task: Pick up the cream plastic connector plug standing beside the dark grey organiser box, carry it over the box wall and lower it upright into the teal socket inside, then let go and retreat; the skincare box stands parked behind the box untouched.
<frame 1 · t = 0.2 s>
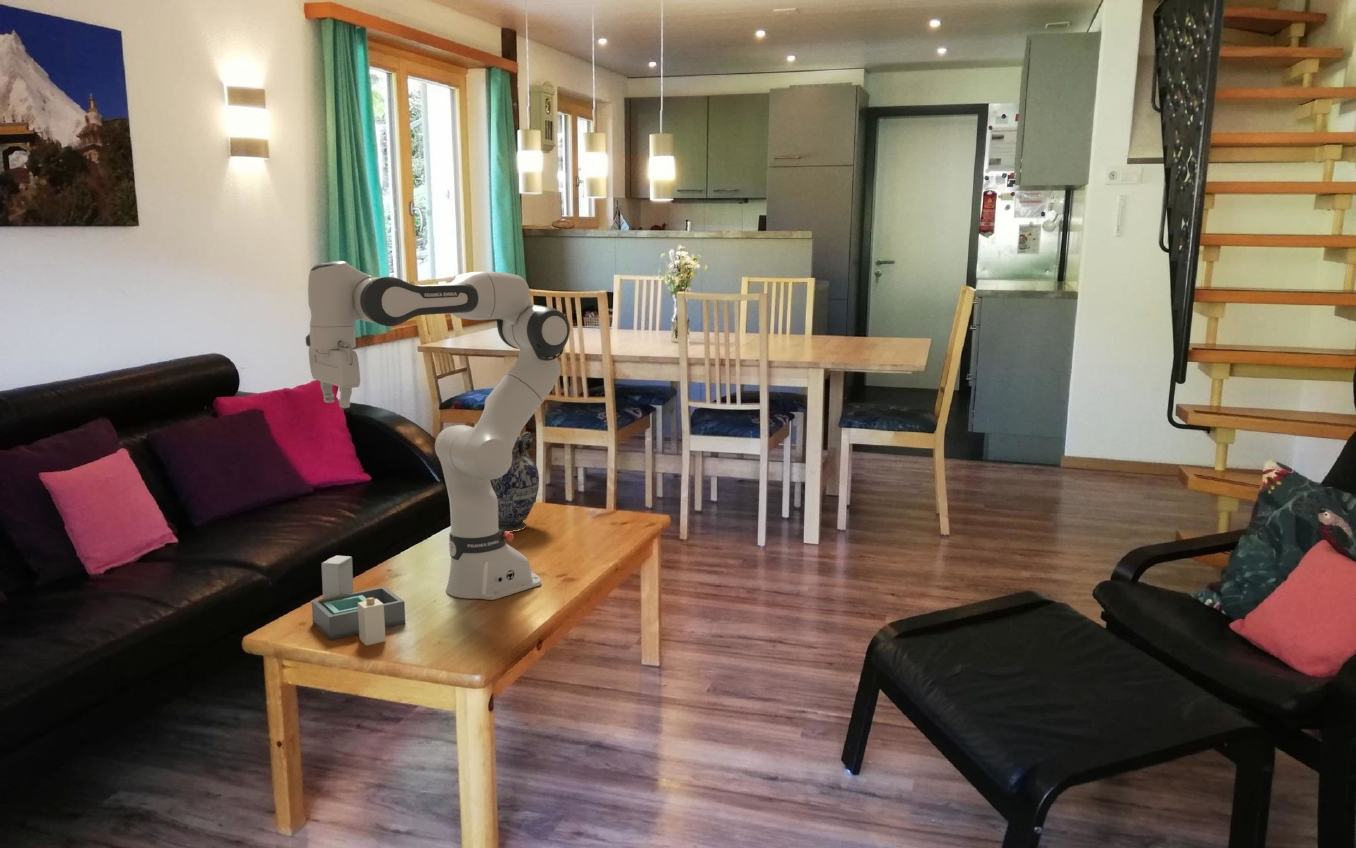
hand: (336, 405, 202), 47 cm above the table, fingers open, 8 cm apart
skincare box: (339, 611, 214), on the table
organiser box: (359, 623, 207), on the table
decorative vase: (508, 528, 282), on the table
inlet socket: (349, 625, 206), resting on organiser box
plug: (372, 640, 198), on the table
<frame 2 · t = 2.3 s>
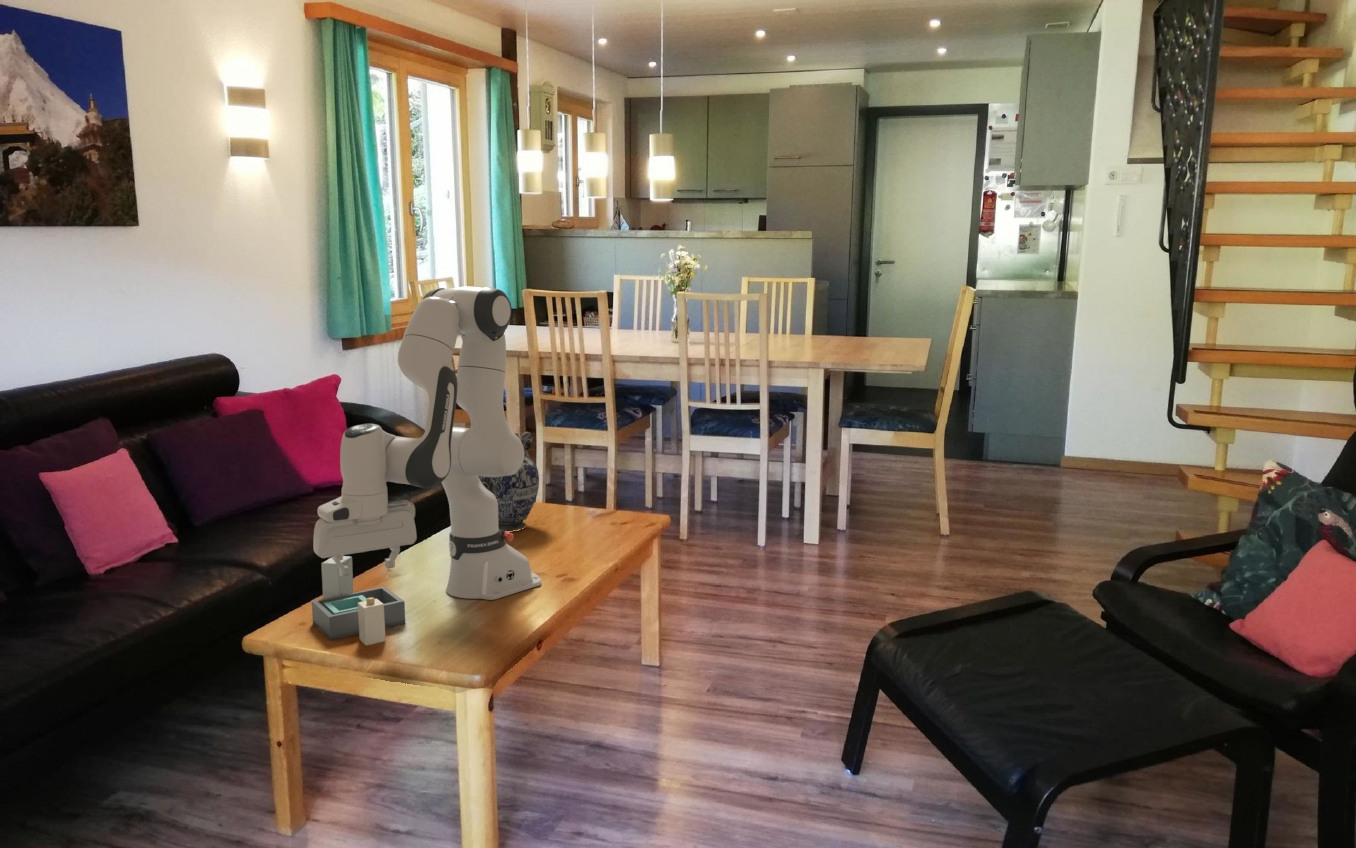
hand: (367, 571, 195), 15 cm above the table, fingers open, 8 cm apart
nothing on the table moved.
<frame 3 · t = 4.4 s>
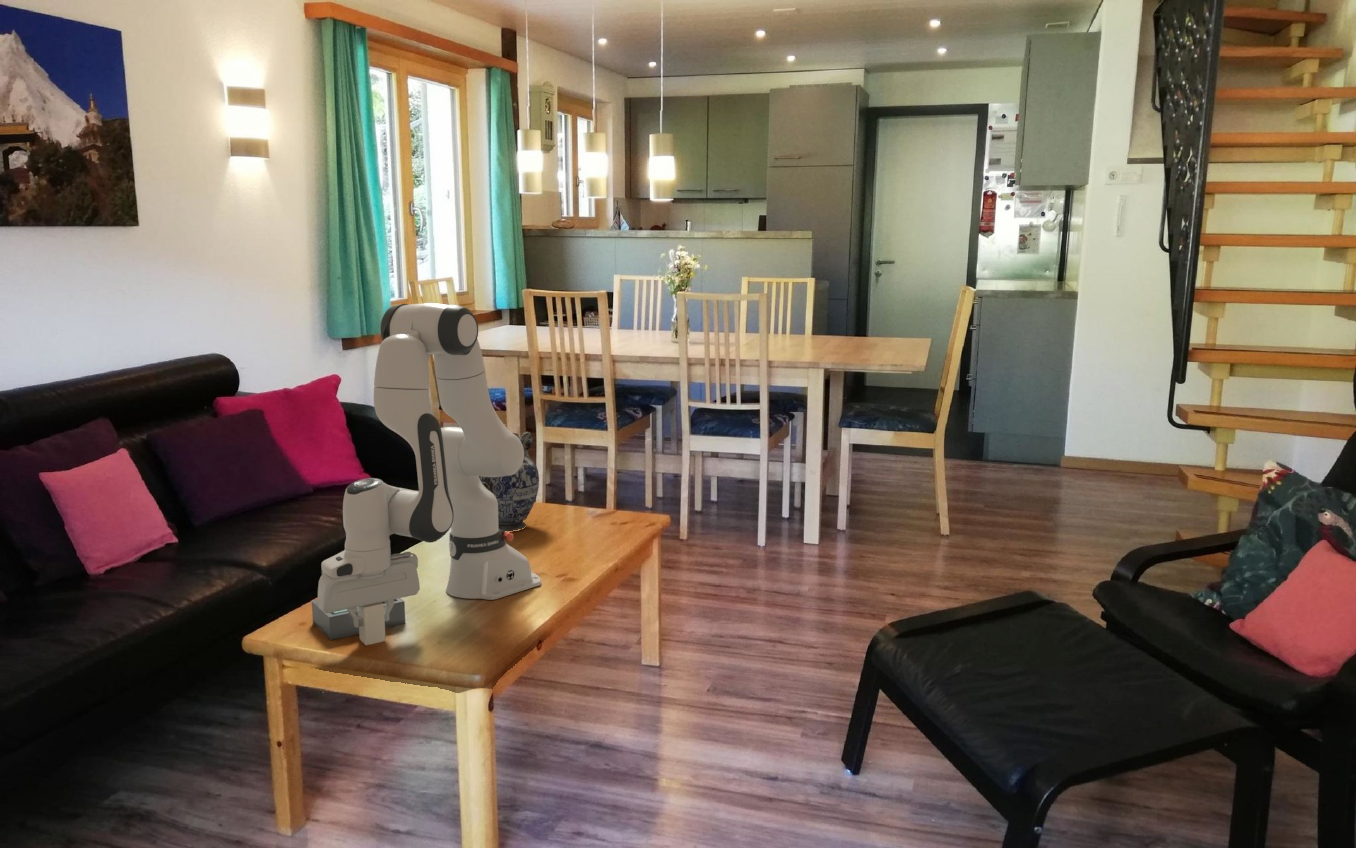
hand: (371, 623, 197), 4 cm above the table, fingers closed on plug, 4 cm apart
plug: (372, 640, 198), on the table, touching gripper
everything else where it was.
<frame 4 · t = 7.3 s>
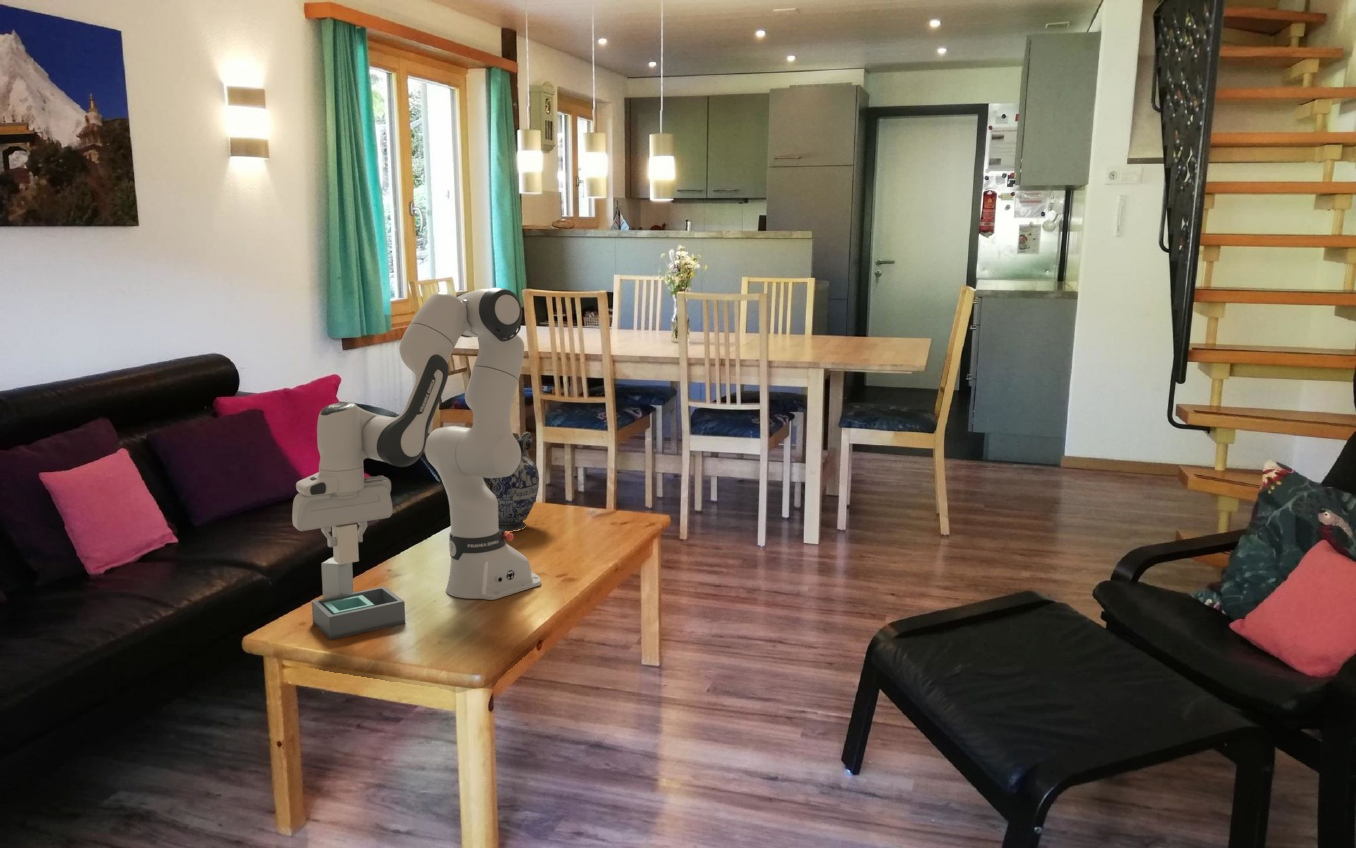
hand: (345, 544, 203), 18 cm above the table, fingers closed on plug, 4 cm apart
plug: (346, 560, 203), point 14 cm above the table, touching gripper
everything else where it was.
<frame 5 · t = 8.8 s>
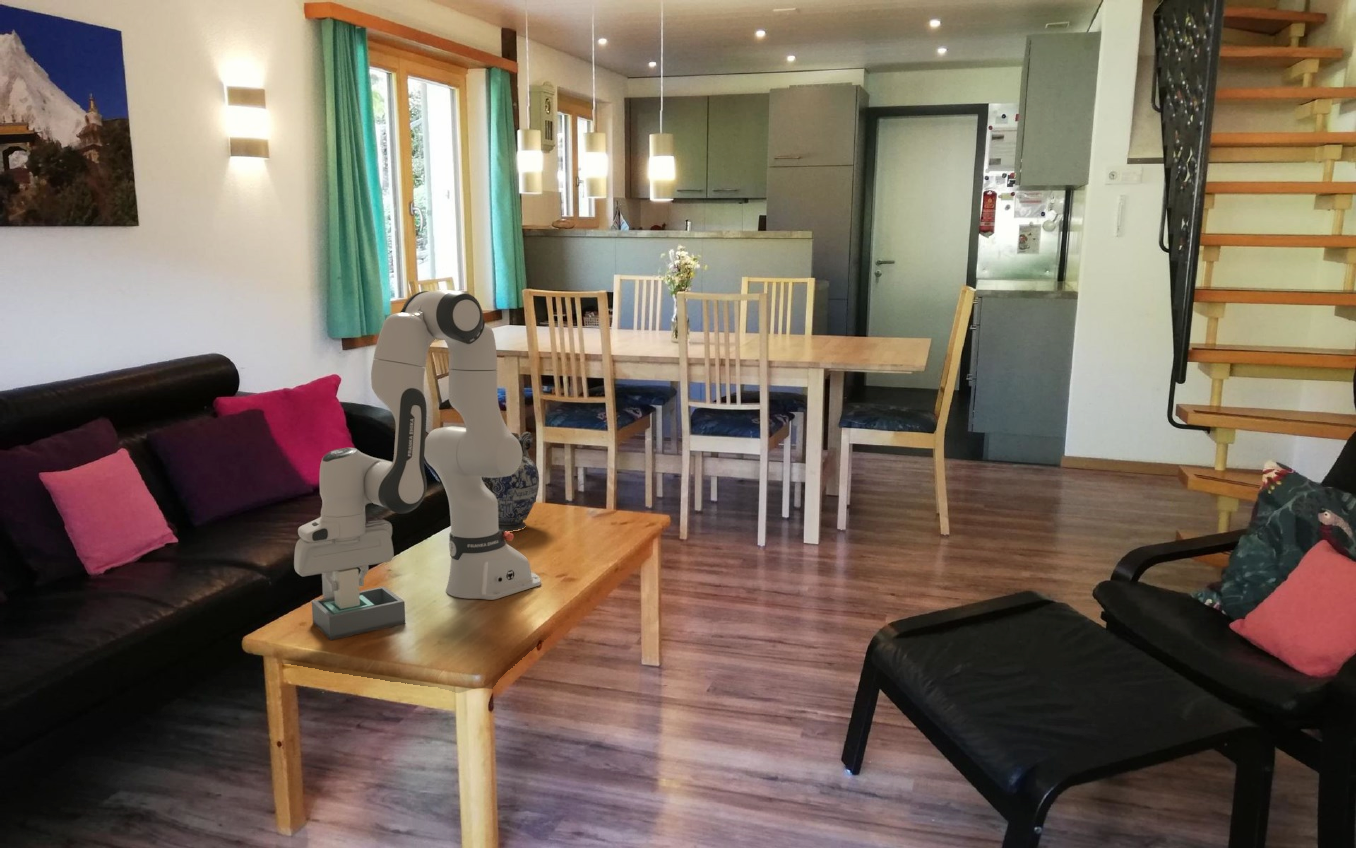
hand: (346, 588, 204), 8 cm above the table, fingers closed on plug, 4 cm apart
plug: (347, 604, 205), point 5 cm above the table, touching gripper
everything else where it was.
when the fingers open (5 cm above the table, at t = 10.2 s): plug stays where it is, resting on organiser box.
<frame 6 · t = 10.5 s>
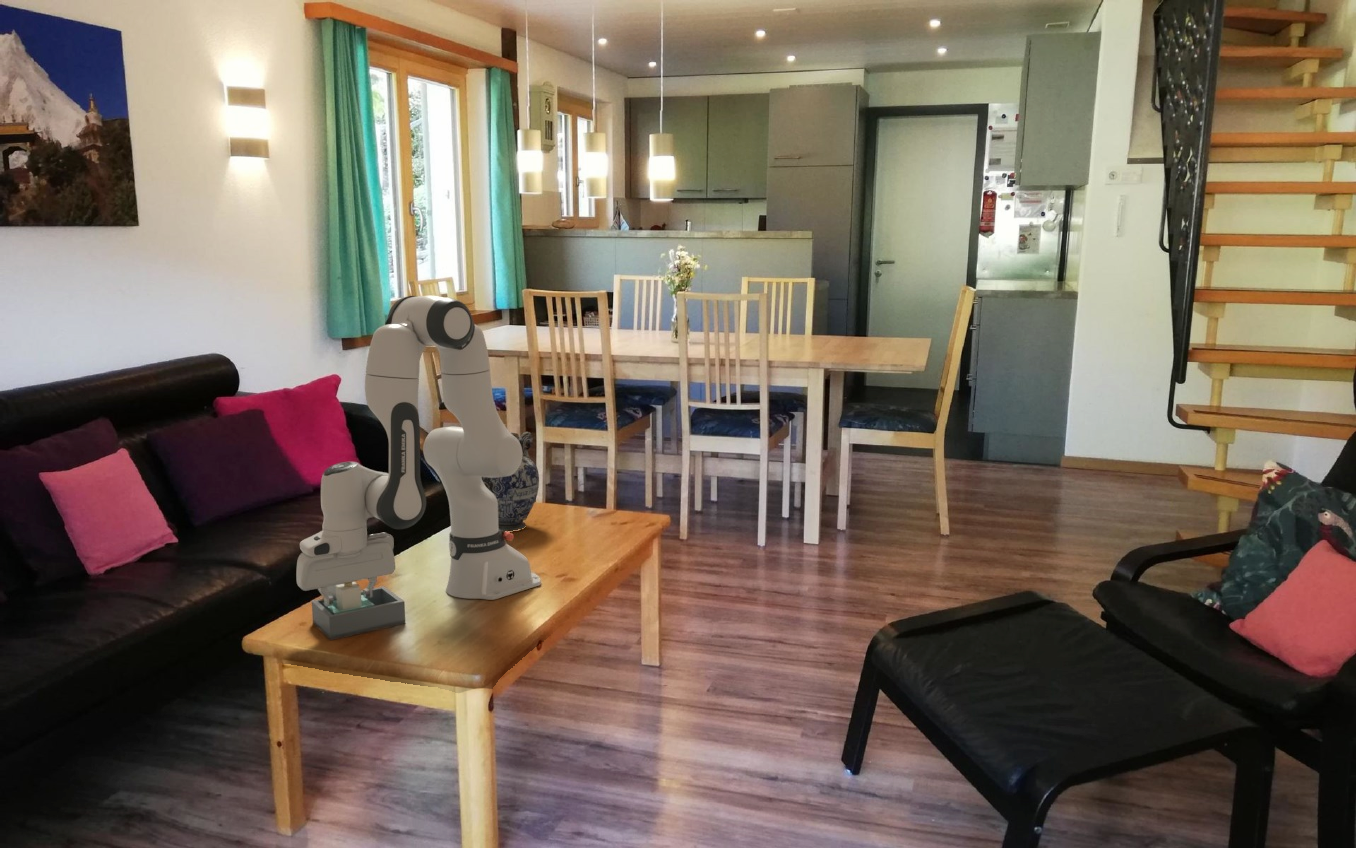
hand: (348, 601, 205), 5 cm above the table, fingers open, 7 cm apart
plug: (350, 621, 206), point 1 cm above the table, touching organiser box
everything else where it was.
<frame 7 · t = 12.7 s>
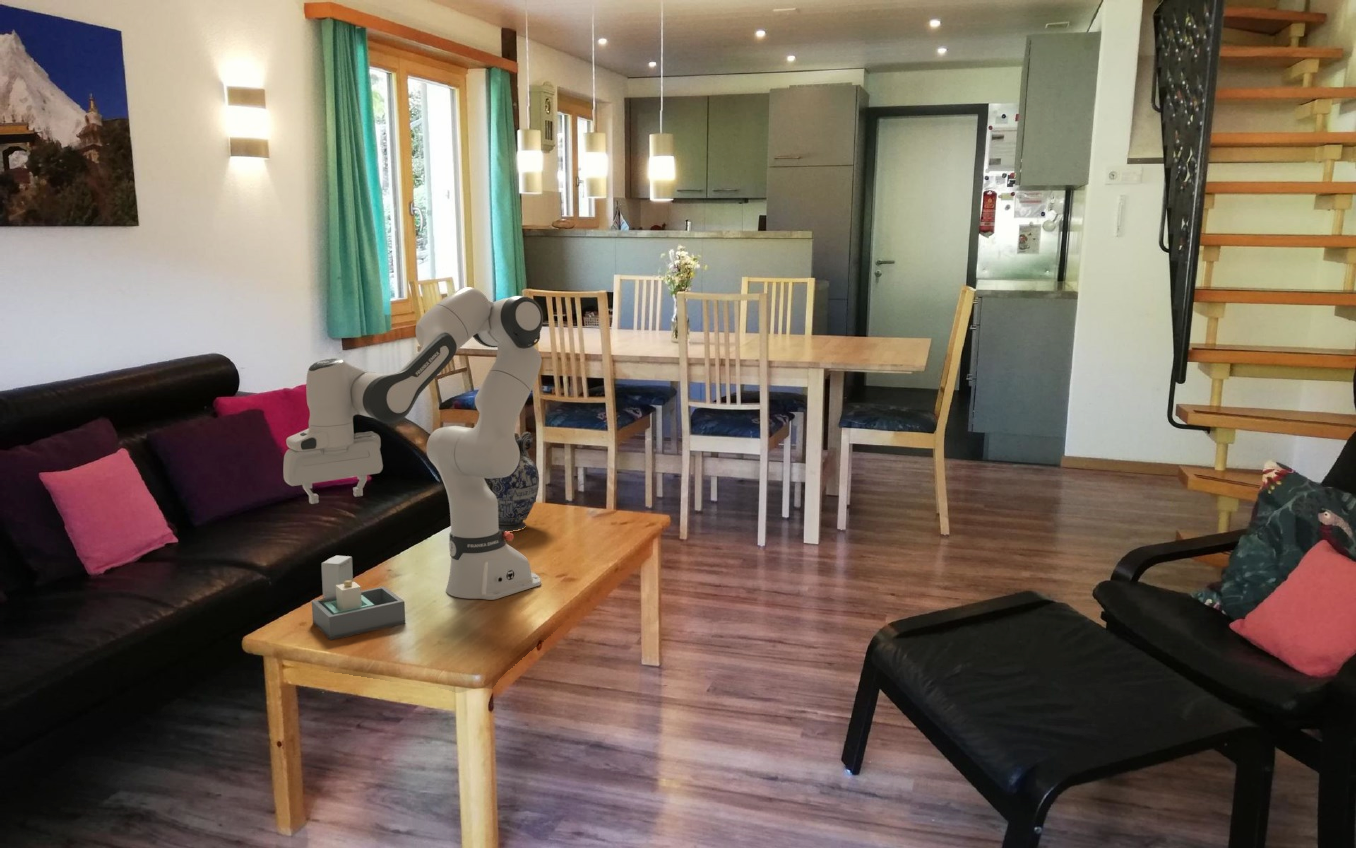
hand: (336, 499, 205), 27 cm above the table, fingers open, 8 cm apart
nothing on the table moved.
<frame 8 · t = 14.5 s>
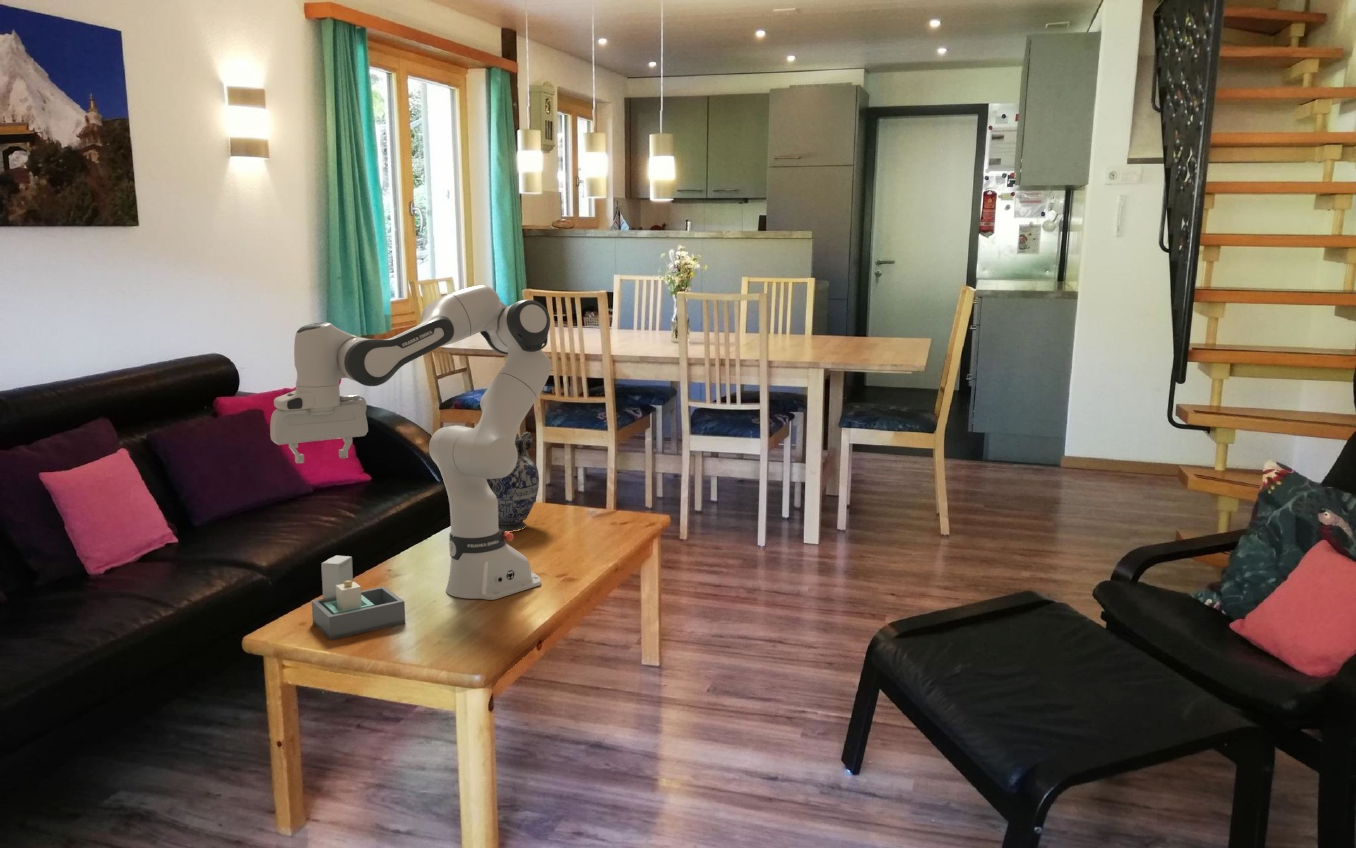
hand: (322, 460, 210), 34 cm above the table, fingers open, 8 cm apart
nothing on the table moved.
at the end: plug 0.1 cm off-centre on the inlet socket, point 0.8 cm above the inlet socket's base; plug tilted 0°; the gripper is holding nothing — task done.
